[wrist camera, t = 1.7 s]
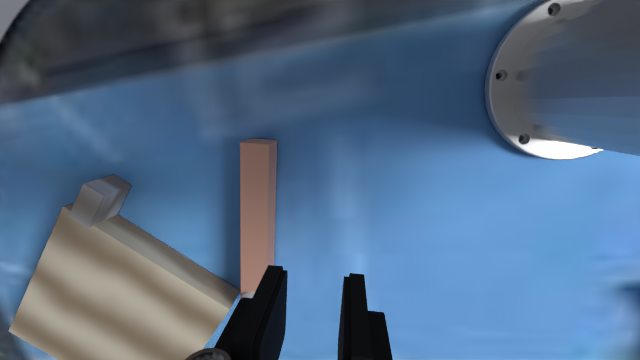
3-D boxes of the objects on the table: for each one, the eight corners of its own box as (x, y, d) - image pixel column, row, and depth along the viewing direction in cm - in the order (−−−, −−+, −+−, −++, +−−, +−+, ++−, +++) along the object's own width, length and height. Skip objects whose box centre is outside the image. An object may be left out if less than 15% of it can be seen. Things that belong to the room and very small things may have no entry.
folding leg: (274, 297, 31) (265, 320, 28) (249, 294, 31) (238, 317, 28) (278, 140, 27) (268, 145, 24) (250, 138, 27) (236, 143, 24)
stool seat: (103, 167, 30) (70, 175, 26) (257, 265, 31) (246, 285, 27) (36, 312, 35) (2, 335, 31) (171, 391, 36) (152, 421, 32)
